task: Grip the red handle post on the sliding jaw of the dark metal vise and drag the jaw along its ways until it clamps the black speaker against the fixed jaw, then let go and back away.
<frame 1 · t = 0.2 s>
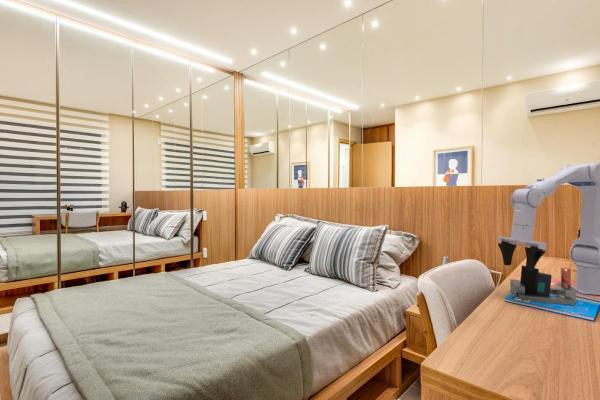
hand: (518, 267, 97), 11 cm above the table, tool pointing down, fingers open, 7 cm apart
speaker: (536, 298, 101), on the table, touching vise body
vise body: (540, 296, 100), on the table
jaw slide: (565, 283, 97), point 5 cm above the table, slide at 0.0 cm
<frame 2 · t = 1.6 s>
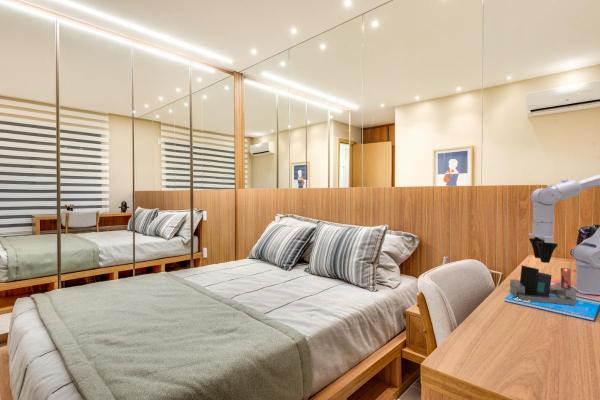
hand: (541, 260, 107), 10 cm above the table, tool pointing down, fingers open, 7 cm apart
nothing on the table moved.
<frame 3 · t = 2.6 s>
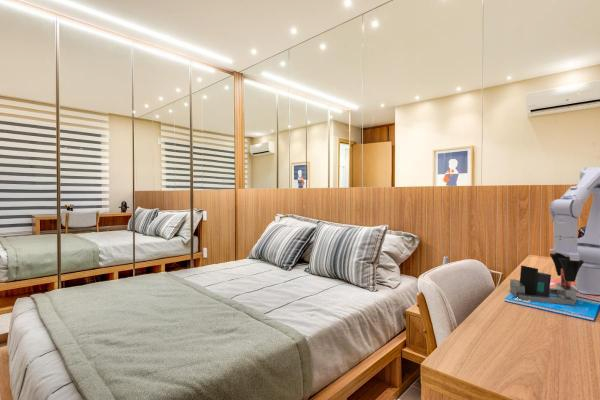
hand: (565, 278, 97), 7 cm above the table, tool pointing down, fingers open, 6 cm apart
nothing on the table moved.
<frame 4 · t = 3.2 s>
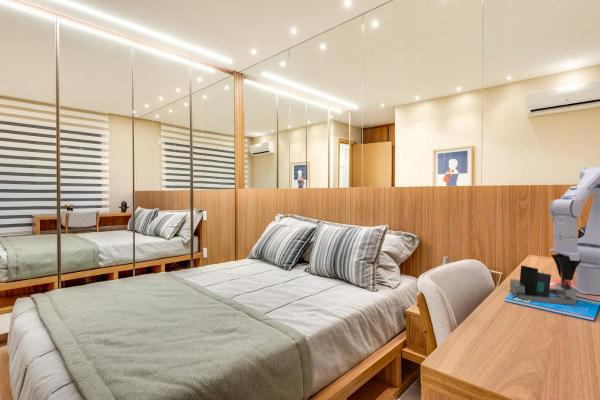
hand: (565, 278, 97), 7 cm above the table, tool pointing down, fingers closed on jaw slide, 2 cm apart
jaw slide: (565, 283, 97), point 5 cm above the table, slide at 0.0 cm, touching gripper
everything else where it was.
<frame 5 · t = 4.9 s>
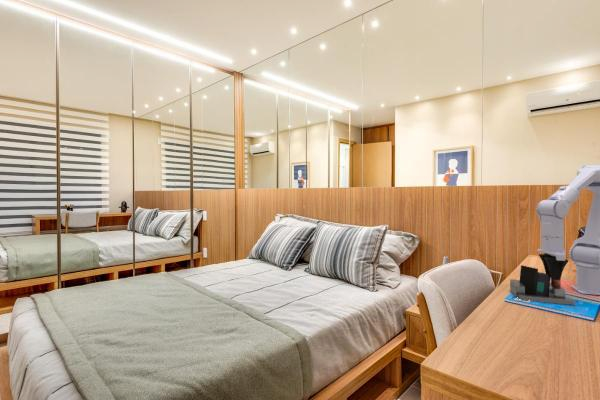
hand: (553, 277, 99), 7 cm above the table, tool pointing down, fingers closed on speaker, 4 cm apart
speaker: (535, 297, 101), on the table, touching gripper, vise body
jaw slide: (555, 283, 98), point 5 cm above the table, slide at 2.6 cm
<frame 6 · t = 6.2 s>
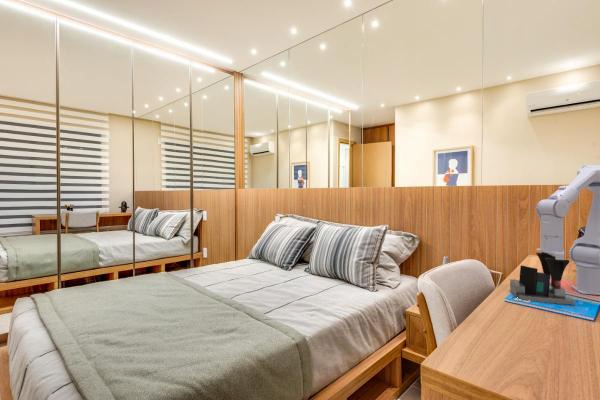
hand: (552, 277, 99), 7 cm above the table, tool pointing down, fingers open, 7 cm apart
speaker: (535, 298, 101), resting on vise body
everything else where it was.
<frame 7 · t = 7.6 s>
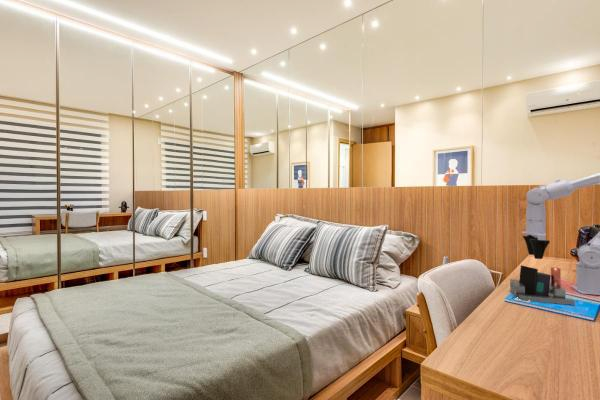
hand: (535, 256, 113), 10 cm above the table, tool pointing down, fingers open, 7 cm apart
nothing on the table moved.
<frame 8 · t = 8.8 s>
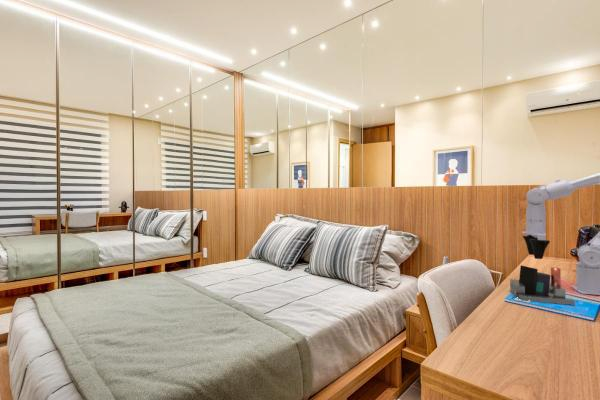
hand: (535, 256, 113), 10 cm above the table, tool pointing down, fingers open, 7 cm apart
nothing on the table moved.
at the end: jaw slide slide at 2.6 cm; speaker 0.2 cm from the target spot, on the table; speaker tilted 1° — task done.
